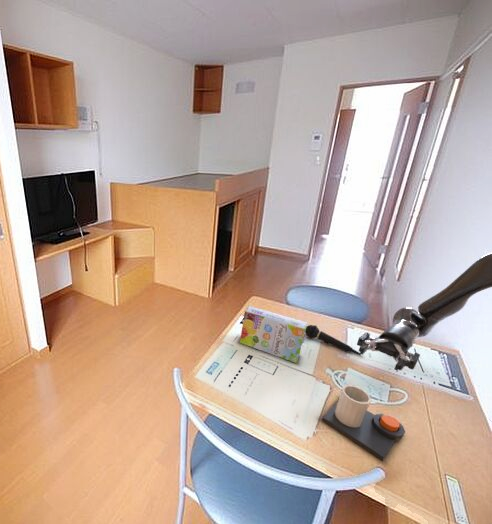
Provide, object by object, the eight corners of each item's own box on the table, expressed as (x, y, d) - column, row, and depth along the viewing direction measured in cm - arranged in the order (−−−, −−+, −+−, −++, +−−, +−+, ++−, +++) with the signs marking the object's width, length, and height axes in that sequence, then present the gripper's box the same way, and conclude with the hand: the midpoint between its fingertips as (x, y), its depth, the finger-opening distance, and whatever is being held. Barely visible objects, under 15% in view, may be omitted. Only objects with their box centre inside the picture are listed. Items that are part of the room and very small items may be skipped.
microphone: (357, 359, 117) (303, 333, 129) (364, 346, 116) (309, 321, 127) (356, 363, 113) (301, 335, 124) (364, 349, 112) (307, 323, 123)
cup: (365, 419, 87) (374, 396, 84) (355, 431, 84) (365, 407, 80) (340, 404, 92) (348, 381, 89) (330, 415, 88) (338, 392, 85)
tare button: (399, 426, 84) (401, 422, 83) (394, 434, 81) (396, 429, 81) (382, 416, 87) (384, 412, 86) (377, 424, 84) (379, 419, 84)
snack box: (299, 355, 115) (308, 321, 109) (296, 364, 110) (305, 329, 104) (243, 336, 126) (248, 304, 120) (238, 343, 121) (244, 310, 115)
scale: (404, 434, 84) (408, 426, 83) (387, 464, 77) (390, 456, 76) (342, 397, 96) (344, 390, 95) (321, 420, 88) (324, 412, 87)
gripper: (374, 319, 101) (354, 336, 92) (430, 340, 90) (414, 362, 81) (368, 337, 103) (348, 356, 94) (421, 360, 93) (404, 384, 84)
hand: (378, 359), depth 88 cm, fingers open, 8 cm apart
